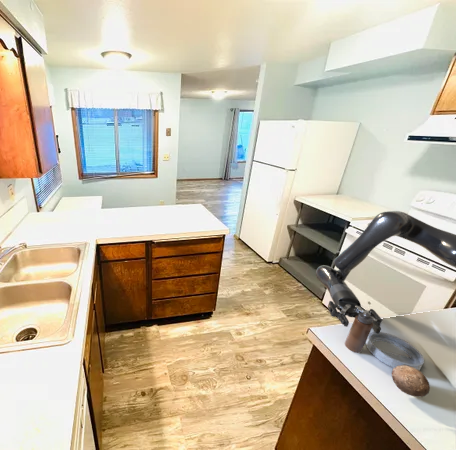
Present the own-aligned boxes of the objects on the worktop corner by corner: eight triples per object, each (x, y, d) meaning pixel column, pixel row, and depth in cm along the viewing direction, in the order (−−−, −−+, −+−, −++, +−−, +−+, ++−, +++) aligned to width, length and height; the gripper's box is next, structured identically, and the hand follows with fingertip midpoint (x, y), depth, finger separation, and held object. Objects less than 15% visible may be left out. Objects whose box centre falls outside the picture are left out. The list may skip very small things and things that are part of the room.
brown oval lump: (393, 357, 74) (408, 358, 68) (422, 380, 70) (441, 383, 65) (379, 377, 72) (394, 379, 67) (408, 402, 69) (426, 407, 63)
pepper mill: (357, 344, 83) (372, 310, 78) (363, 355, 79) (379, 320, 74) (342, 340, 84) (355, 307, 79) (347, 351, 80) (362, 316, 75)
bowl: (403, 345, 83) (407, 337, 82) (430, 379, 72) (435, 371, 70) (358, 335, 87) (361, 327, 86) (376, 366, 75) (380, 358, 74)
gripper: (325, 286, 93) (340, 313, 79) (369, 293, 89) (393, 324, 74) (320, 301, 96) (333, 331, 81) (362, 310, 92) (384, 342, 77)
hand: (362, 328), depth 78 cm, fingers open, 8 cm apart
